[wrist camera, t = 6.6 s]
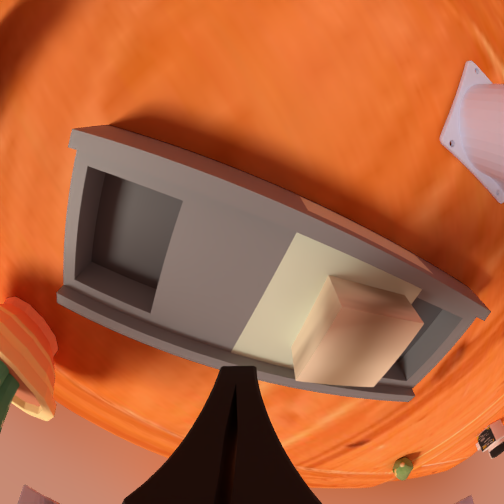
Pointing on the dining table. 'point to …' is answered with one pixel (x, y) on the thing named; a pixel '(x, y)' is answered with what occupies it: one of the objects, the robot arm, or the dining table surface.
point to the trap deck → (231, 263)
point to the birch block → (353, 334)
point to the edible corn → (402, 468)
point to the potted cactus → (26, 361)
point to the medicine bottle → (492, 439)
